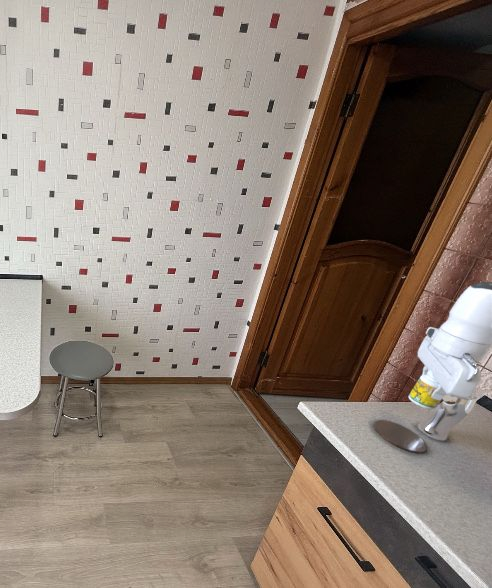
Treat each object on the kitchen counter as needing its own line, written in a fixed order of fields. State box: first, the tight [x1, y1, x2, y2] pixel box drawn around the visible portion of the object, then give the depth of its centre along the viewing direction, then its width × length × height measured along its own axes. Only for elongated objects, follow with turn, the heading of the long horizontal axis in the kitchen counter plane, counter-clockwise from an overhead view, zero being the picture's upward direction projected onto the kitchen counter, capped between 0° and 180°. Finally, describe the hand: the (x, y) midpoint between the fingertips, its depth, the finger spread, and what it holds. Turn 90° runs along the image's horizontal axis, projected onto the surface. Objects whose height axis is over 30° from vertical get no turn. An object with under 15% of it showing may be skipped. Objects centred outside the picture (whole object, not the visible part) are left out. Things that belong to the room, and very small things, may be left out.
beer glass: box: [417, 392, 479, 442], centre depth 92 cm, size 7×7×15 cm
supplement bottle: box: [408, 369, 441, 410], centre depth 85 cm, size 5×5×10 cm
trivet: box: [373, 419, 427, 454], centre depth 92 cm, size 11×11×1 cm
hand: (429, 390), depth 86 cm, fingers closed on supplement bottle, 5 cm apart
